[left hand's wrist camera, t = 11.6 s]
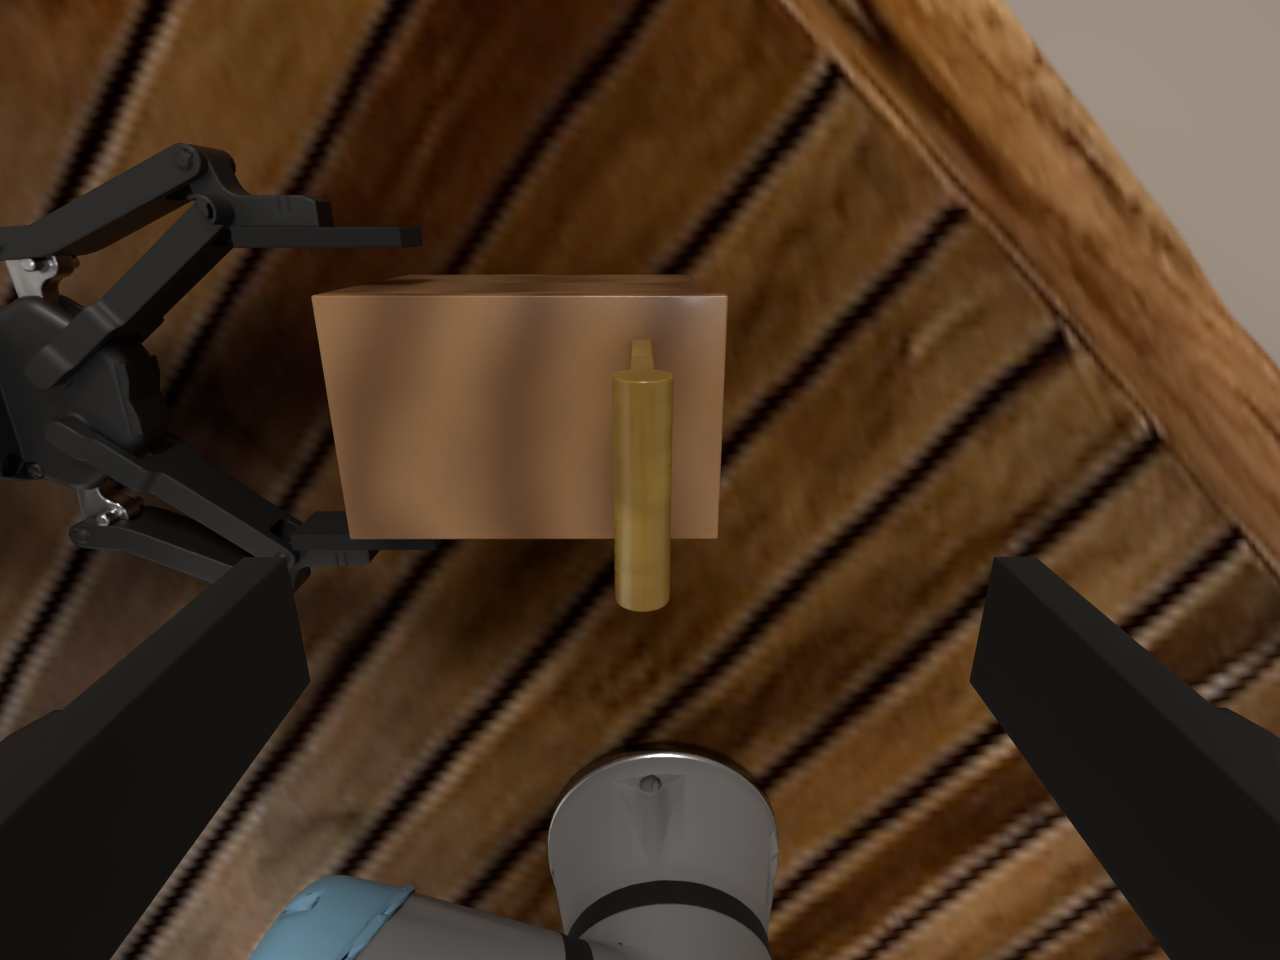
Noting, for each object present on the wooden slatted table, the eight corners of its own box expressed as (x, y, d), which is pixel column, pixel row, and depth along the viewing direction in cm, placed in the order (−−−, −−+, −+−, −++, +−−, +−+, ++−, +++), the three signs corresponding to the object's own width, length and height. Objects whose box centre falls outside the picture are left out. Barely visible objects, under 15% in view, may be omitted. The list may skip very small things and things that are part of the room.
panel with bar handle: (724, 292, 25) (766, 326, 17) (715, 528, 28) (746, 653, 20) (322, 292, 25) (168, 326, 17) (359, 529, 28) (244, 654, 20)
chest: (689, 274, 35) (707, 292, 25) (684, 453, 38) (699, 528, 28) (408, 274, 34) (323, 292, 25) (428, 453, 38) (359, 528, 28)
